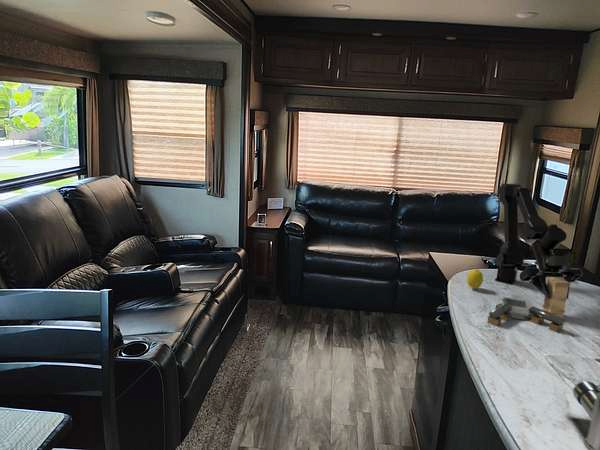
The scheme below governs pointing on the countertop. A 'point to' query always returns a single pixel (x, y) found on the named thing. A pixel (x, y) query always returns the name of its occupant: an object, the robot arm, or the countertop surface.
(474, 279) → the lemon
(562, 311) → the block
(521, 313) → the grey round socket base
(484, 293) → the countertop surface
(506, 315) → the shaft
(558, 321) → the shaft
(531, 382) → the countertop surface
